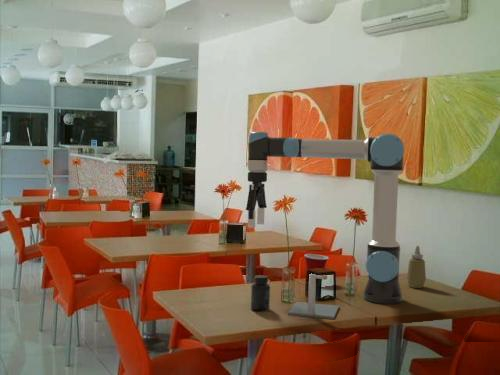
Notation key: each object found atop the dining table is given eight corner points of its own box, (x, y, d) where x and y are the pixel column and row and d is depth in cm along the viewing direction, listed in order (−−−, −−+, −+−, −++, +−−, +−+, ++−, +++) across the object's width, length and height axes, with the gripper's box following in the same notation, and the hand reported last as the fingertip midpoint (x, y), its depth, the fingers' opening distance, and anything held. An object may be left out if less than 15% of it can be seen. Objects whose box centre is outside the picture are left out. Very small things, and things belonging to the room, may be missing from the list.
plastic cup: (329, 285, 260) (330, 257, 260) (304, 284, 260) (305, 257, 260) (326, 280, 271) (327, 253, 270) (302, 279, 271) (303, 252, 271)
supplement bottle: (266, 306, 221) (267, 274, 220) (271, 311, 214) (272, 278, 214) (248, 307, 219) (249, 274, 218) (253, 312, 212) (254, 278, 212)
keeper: (338, 307, 222) (340, 268, 221) (333, 319, 206) (335, 276, 205) (296, 303, 226) (297, 265, 225) (288, 314, 210) (289, 273, 209)
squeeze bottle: (405, 288, 259) (407, 246, 258) (406, 284, 267) (408, 244, 266) (425, 289, 257) (427, 248, 256) (425, 286, 264) (427, 245, 263)
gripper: (256, 171, 247) (255, 222, 248) (238, 171, 223) (237, 228, 224) (274, 171, 245) (272, 223, 246) (258, 172, 221) (256, 229, 222)
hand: (256, 225), depth 235 cm, fingers open, 13 cm apart
